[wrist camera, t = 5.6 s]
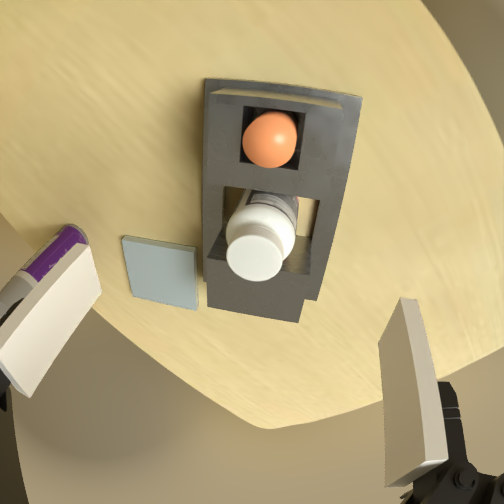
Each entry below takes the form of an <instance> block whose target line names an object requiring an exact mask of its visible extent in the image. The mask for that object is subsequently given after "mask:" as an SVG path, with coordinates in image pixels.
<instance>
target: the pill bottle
mask: <svg viewBox="0 0 504 504" xmlns="http://www.w3.org/2000/svg"><path fill="white" fill-rule="evenodd" d="M298 206H299V199H298V196H292V195H286V194H279V193H273V192H266V191H259V190H252V189H244V191H243V193H242V195H241V197H240V200H239V202H238V204H237V206H236V208H235V210H234V212H233V214H232V216H231V218H230V220H229V222H228V225H227V229H226V240H227V244H228V248H227V253H226V257H227V262H228V264H229V266H230V268H231V269H232V270H233V271H234V272H235V273H236V274H237V275H238V276H240V277H242V278H244V279H247V280H250V281H264V280H268V279H270V278H272V277H274V276H275V275H276V274H277V273H278V272H279V270H280V268H281V266H282V262H283V260H284V259H285V258H286V257H287V256H288V255H289V254H290V252H291V251H292V249H293V246H294V243H295V237H296V227H297V217H298Z"/></svg>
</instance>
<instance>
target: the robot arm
mask: <svg viewBox="0 0 504 504" xmlns="http://www.w3.org/2000/svg"><path fill="white" fill-rule="evenodd" d="M101 293H102V290H101V286H100V283H99V279H98V276H97V272H96V268H95V265H94V261H93V257H92V253H91V249H90V245H85V244H80V243H76V244H75V245H74V246H73V247H72V248H71V249H70V250H69V251H68V252H67V253H66V254H65V255H64V256H63V257H62V258H61V259H60V260H59V261H58V262H57V264H56V265H55V266H54V267H53V268H52V269H51V270H50V271H49V272H48V273H47V274H46V275H45V276H44V277H43V278H42V279H41V281H40V282H39V283H38V284H37V285H36V286H35V287H34V288H33V289H32V290H31V292H30V293H29V294H28V295H27V296H26V297H25V298H21V299H20V300H18V301H17V302H15V303H14V304H13V305H12V306H11V307H10V308H9V309H8V311H7V312H6V314H4V315H3V317H2V318H1V319H0V504H29V502H28V498H27V495H26V490H25V486H24V482H23V477H22V473H21V468H20V462H19V457H18V451H17V444H16V438H15V430H14V421H13V411H12V398H11V390H10V388H9V387H8V386H9V385H10V383H12V384H13V386H14V387H15V388H16V389H17V391H19V392H21V393H22V394H24V395H26V396H27V397H29V398H30V397H31V396H32V394H33V392H34V391H35V389H36V387H37V386H38V384H39V383H40V381H41V380H42V378H43V376H44V375H45V373H46V372H47V370H48V368H49V367H50V366H51V364H52V362H53V361H54V359H55V358H56V356H57V355H58V353H59V352H60V350H61V349H62V347H63V346H64V344H65V343H66V342H67V340H68V339H69V337H70V336H71V334H72V333H73V332H74V330H75V329H76V327H77V326H78V324H79V323H80V322H81V320H82V319H83V317H84V316H85V314H86V313H87V312H88V310H89V309H90V308H91V306H92V305H93V304H94V302H95V301H96V300H97V298H98V297H99V296H100V294H101ZM378 347H379V357H380V367H381V379H382V392H383V408H384V430H385V487H403V486H406V485H408V484H410V483H411V482H413V489H412V490H410V491H408V492H406V493H404V494H403V495H402V496H401V497H400V498H401V499H403V498H405V499H404V500H403V501H402V503H401V504H504V473H503V474H501V475H500V476H498V477H496V476H491V475H487V474H482V473H479V472H477V469H476V468H475V467H474V466H473V465H472V464H471V463H469V462H468V460H467V455H466V448H465V441H464V434H463V428H462V423H461V420H460V411H459V409H458V407H459V406H458V401H457V396H456V393H455V391H454V390H453V388H452V386H451V384H450V383H449V382H437V379H436V374H435V369H434V364H433V360H432V355H431V351H430V347H429V342H428V338H427V334H426V330H425V327H424V323H423V319H422V315H421V312H420V308H419V305H418V301H417V300H416V299H409V298H401V297H400V299H399V301H398V303H397V305H396V307H395V310H394V312H393V314H392V316H391V318H390V320H389V322H388V324H387V326H386V328H385V330H384V332H383V334H382V336H381V338H380V340H379V342H378Z"/></svg>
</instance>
